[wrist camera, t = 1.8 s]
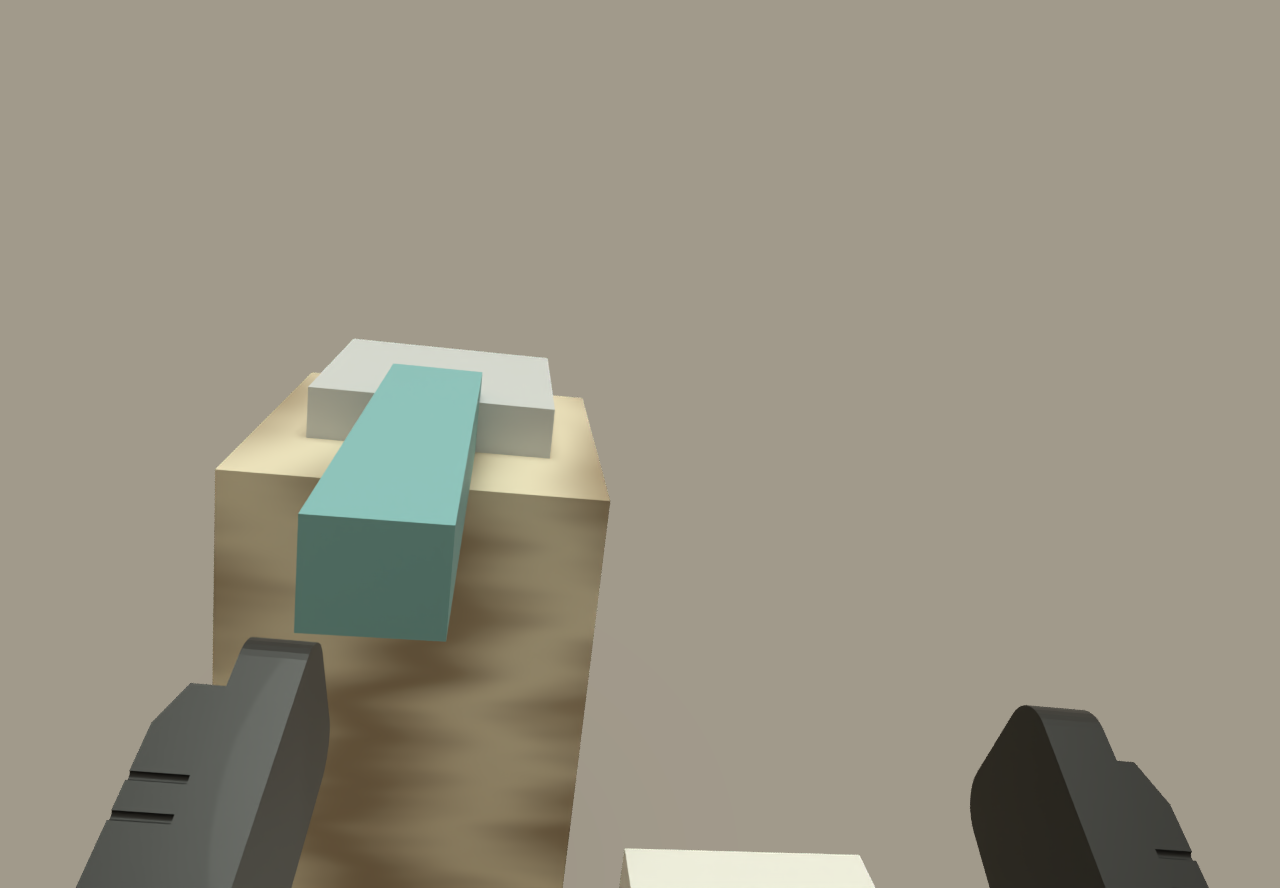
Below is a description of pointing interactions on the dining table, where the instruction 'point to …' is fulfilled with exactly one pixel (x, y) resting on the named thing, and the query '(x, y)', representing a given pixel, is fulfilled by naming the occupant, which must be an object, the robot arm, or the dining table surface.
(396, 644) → the tall wooden block
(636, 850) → the white block
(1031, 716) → the robot arm
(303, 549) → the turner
